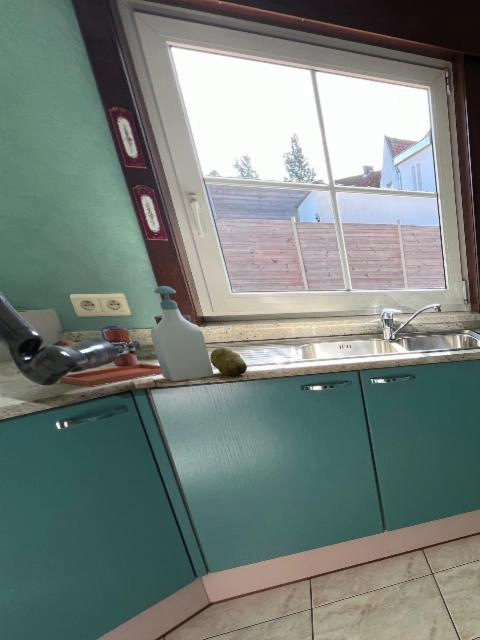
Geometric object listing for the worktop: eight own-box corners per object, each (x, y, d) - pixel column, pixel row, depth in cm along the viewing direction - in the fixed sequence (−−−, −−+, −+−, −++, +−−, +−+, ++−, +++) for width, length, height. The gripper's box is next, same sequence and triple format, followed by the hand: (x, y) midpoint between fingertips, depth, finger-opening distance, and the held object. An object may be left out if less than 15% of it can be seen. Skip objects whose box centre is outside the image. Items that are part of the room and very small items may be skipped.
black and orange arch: (79, 363, 169) (54, 343, 164) (58, 374, 171) (33, 354, 166) (102, 348, 179) (79, 329, 174) (83, 358, 180) (60, 340, 175)
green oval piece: (218, 379, 154) (212, 353, 151) (212, 371, 162) (206, 347, 159) (250, 375, 159) (244, 351, 156) (242, 368, 168) (236, 345, 165)
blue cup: (116, 359, 174) (105, 328, 170) (106, 358, 176) (95, 327, 172) (134, 357, 179) (124, 326, 175) (123, 355, 180) (113, 325, 176)
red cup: (117, 367, 150) (105, 331, 146) (112, 364, 153) (101, 329, 149) (140, 364, 154) (129, 329, 151) (135, 362, 157) (124, 327, 153)
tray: (90, 386, 141) (88, 381, 140) (60, 381, 145) (57, 376, 144) (171, 372, 160) (170, 366, 160) (143, 368, 164) (141, 363, 163)
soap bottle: (202, 371, 162) (178, 284, 152) (213, 375, 158) (190, 286, 148) (161, 377, 153) (133, 285, 143) (172, 381, 149) (144, 287, 139)
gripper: (117, 340, 140) (149, 331, 155) (54, 341, 136) (92, 332, 151) (126, 366, 142) (156, 355, 157) (64, 367, 138) (101, 356, 153)
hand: (125, 344), depth 154 cm, fingers closed on red cup, 5 cm apart
